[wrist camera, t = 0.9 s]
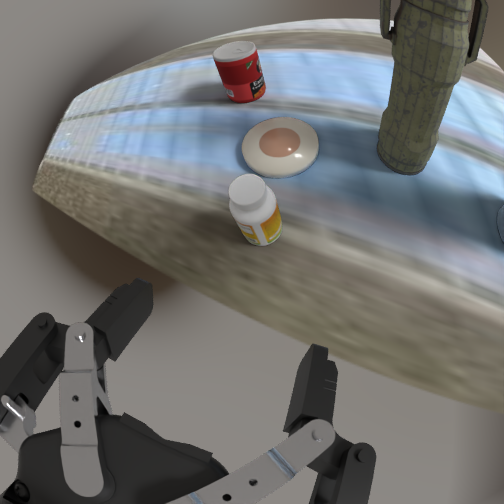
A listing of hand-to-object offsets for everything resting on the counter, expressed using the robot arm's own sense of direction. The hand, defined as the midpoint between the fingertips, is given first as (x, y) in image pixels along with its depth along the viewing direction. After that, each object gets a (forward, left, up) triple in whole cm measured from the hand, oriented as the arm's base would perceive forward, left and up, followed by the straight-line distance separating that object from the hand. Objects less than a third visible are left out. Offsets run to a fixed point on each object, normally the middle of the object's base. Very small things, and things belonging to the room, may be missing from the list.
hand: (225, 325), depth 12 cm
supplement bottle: (-8, -13, -21) cm, 26 cm away
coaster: (-19, -22, -21) cm, 36 cm away
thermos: (-33, -8, -21) cm, 40 cm away
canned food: (-25, -39, -21) cm, 51 cm away
